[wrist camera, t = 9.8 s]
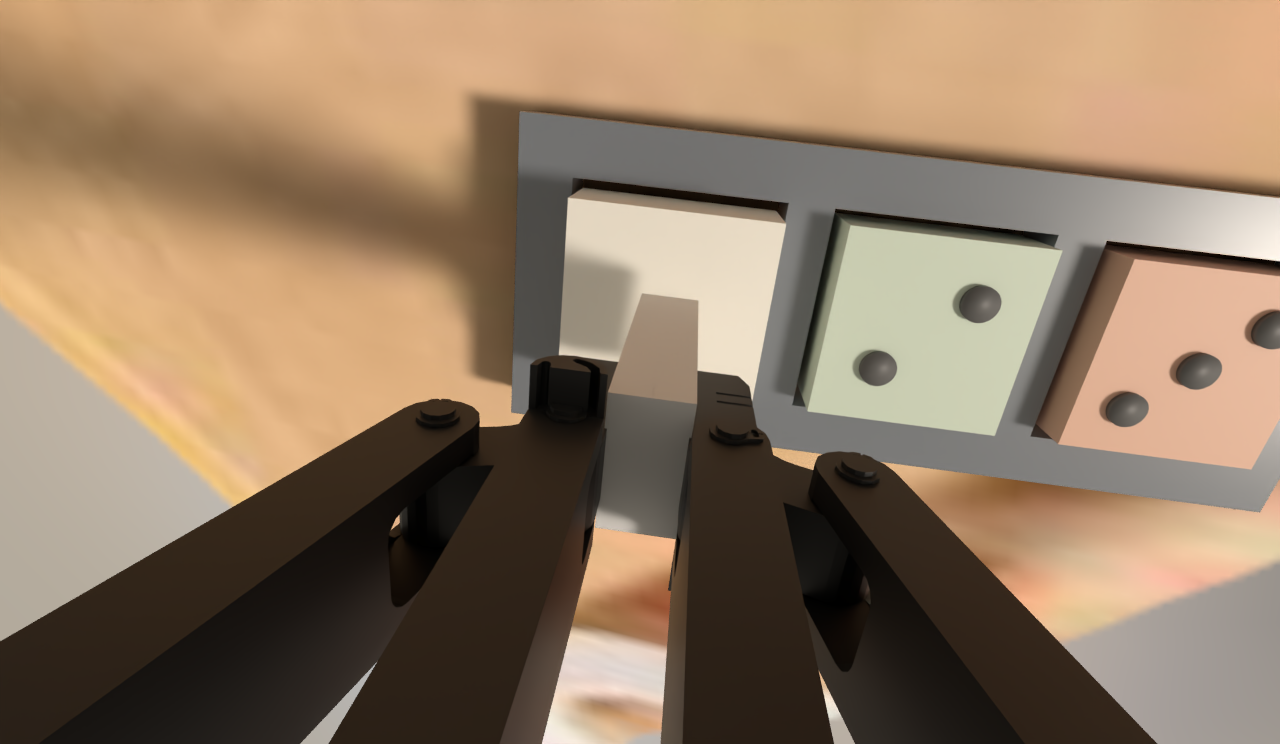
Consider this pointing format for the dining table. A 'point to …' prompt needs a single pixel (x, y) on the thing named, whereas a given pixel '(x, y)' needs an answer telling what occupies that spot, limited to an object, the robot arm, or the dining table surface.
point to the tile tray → (910, 187)
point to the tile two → (922, 322)
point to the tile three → (1171, 359)
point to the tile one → (669, 273)
